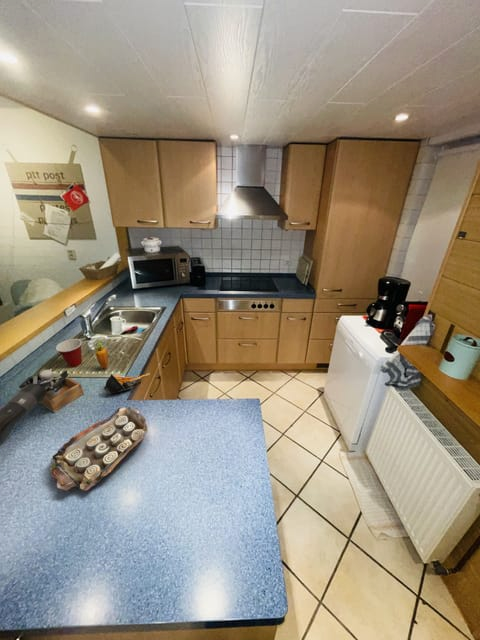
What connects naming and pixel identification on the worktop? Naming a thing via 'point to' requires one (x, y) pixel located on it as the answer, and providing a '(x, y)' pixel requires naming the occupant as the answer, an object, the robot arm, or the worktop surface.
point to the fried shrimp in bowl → (121, 383)
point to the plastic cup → (71, 351)
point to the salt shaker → (48, 375)
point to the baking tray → (97, 449)
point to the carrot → (102, 356)
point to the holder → (64, 395)
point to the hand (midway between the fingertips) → (56, 372)
